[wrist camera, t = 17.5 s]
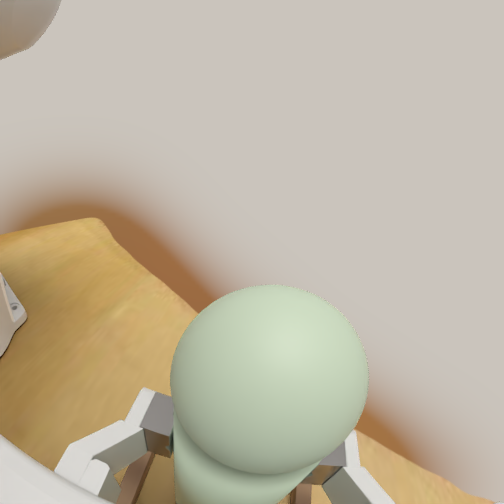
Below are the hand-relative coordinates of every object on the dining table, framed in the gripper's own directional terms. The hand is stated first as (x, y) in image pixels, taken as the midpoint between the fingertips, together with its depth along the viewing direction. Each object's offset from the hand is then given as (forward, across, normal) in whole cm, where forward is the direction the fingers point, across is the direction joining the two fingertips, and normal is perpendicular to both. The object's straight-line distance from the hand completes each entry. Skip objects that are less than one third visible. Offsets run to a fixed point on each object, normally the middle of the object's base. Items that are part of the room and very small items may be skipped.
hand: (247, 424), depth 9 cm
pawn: (-1, 0, -7) cm, 7 cm away
